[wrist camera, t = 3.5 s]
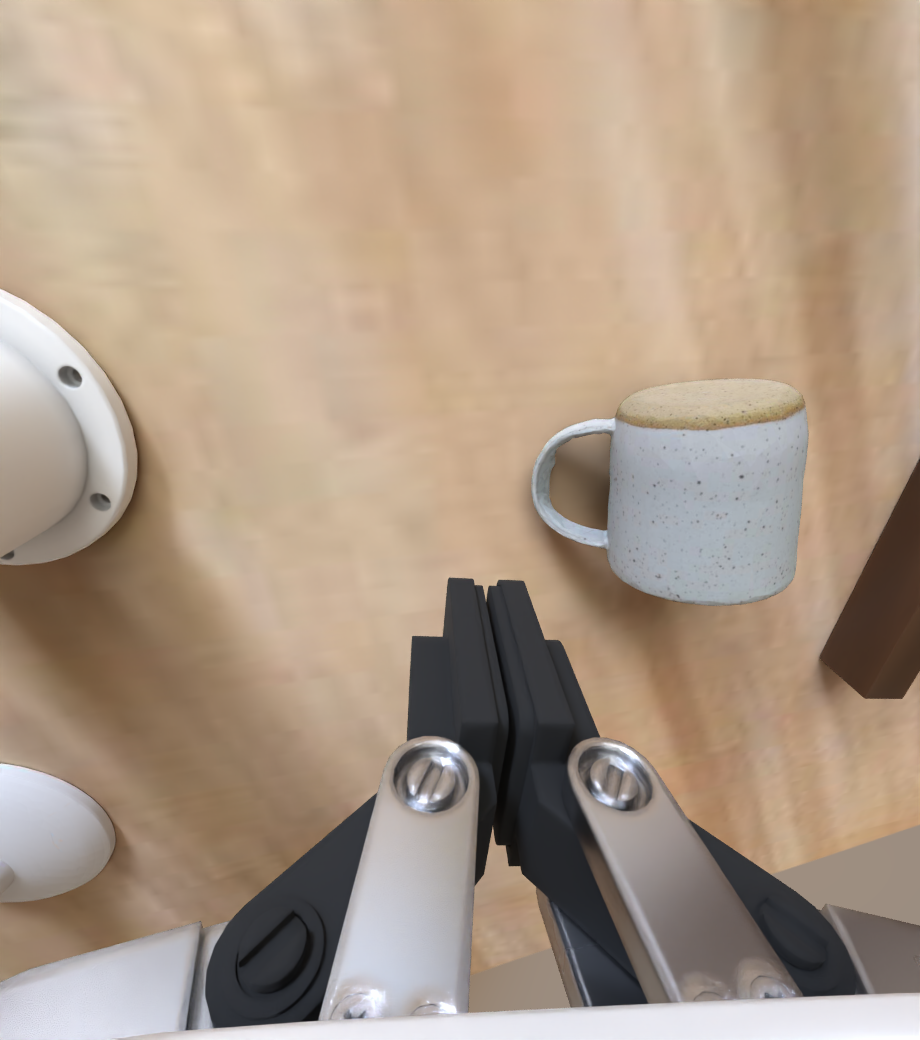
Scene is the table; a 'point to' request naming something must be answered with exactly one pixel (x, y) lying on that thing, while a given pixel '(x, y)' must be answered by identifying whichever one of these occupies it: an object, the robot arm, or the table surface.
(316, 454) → the table surface
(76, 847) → the candlestick
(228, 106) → the table surface
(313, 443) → the table surface
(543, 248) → the table surface
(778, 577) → the ceramic mug
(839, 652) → the board
